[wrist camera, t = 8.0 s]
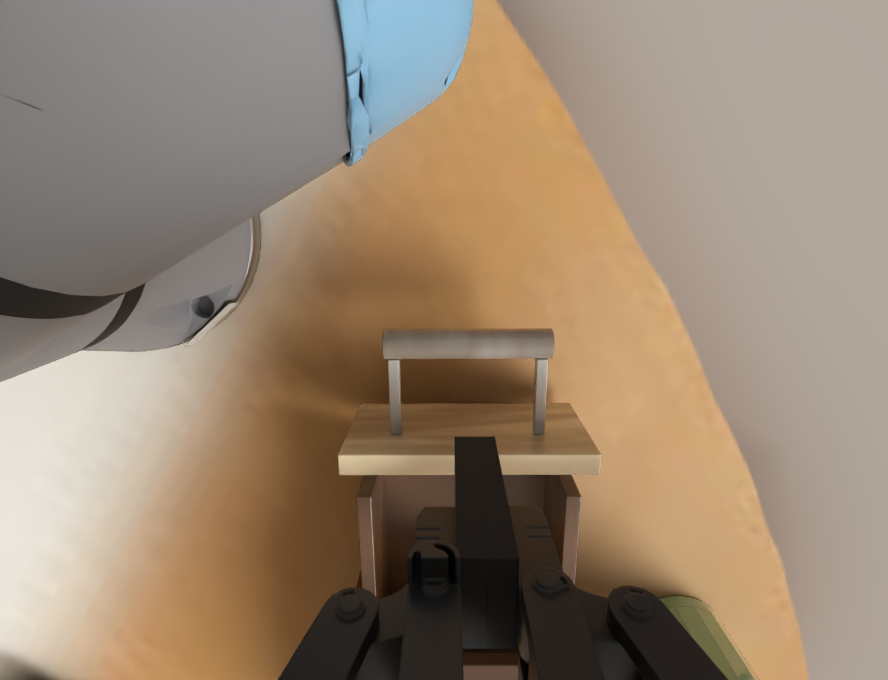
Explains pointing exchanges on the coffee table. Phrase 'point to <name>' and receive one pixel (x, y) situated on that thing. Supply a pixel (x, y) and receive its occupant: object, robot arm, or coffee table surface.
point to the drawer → (433, 457)
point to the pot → (710, 636)
